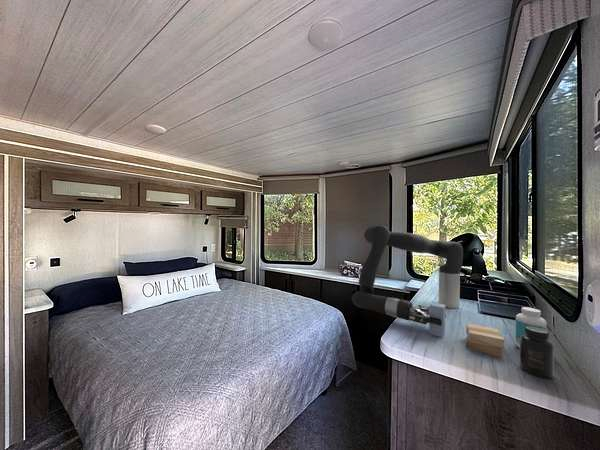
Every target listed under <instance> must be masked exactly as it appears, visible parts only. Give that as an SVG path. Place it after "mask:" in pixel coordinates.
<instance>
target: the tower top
mask: <svg viewBox="0 0 600 450" xmlns="http://www.w3.org/2000/svg"><path fill="white" fill-rule="evenodd" d="M465 327H466V329H465V331H466V335H468V339H469V342H474V343H478V344H483V345H487V346H492V347H496V348H500V349H501V350H505V338H504V337H503V335H502V333H501V332H500V330H499V329H498V328H494V327H493V328H492V327H487V326H484V325H483V326H482V325H479V324H478V325H477V324H473V323H467V322H466V326H465Z"/></svg>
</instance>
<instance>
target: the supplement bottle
mask: <svg viewBox="0 0 600 450" xmlns="http://www.w3.org/2000/svg"><path fill="white" fill-rule="evenodd" d="M525 334H526V335H523V336H521V337H520V348H519V366H520V368H521V369H522V370H524V371H525V372H527V373H529V374H531V375H533V376H536V377H540V378H544V379H551V378H552V377H553V376H554V365H555V364H554V362H555V360H554V359H555V358H554V357H555V346H554V345H553V343H552V342H551V341H550V340H549V339H550V333H549V331H548V330H544V329H541V328H538V327H533V326H525Z"/></svg>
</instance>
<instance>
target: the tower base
mask: <svg viewBox="0 0 600 450" xmlns="http://www.w3.org/2000/svg"><path fill="white" fill-rule="evenodd" d="M466 335H467V334H466ZM465 348H467V349H471V350H474V351H478V352H480V353H484V354H489V355H491V356H495V357H499V358H501V357H502V349H500V348H496V347H492V346H487V345H483V344H478V343H474V342H469V339H468V335H467V336H466V340H465Z"/></svg>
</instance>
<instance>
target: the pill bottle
mask: <svg viewBox="0 0 600 450" xmlns="http://www.w3.org/2000/svg"><path fill="white" fill-rule="evenodd" d="M541 315H542V311H541V310H540V309H537V308H533V307H528V306H527V307H525V306H524V307H523V306H522V307H521V313H518V314H516V315H515V334H514V335H515V337H514V338H515V341H514V342H515V346H516V347H518V348H519V349H520V337H521V336H523V335H526V334H525V326H533V327H538V328H541V329H544V330H546V331H548V330H547V325H548V323H547V321H546V319H545V318H543V317H541Z"/></svg>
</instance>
